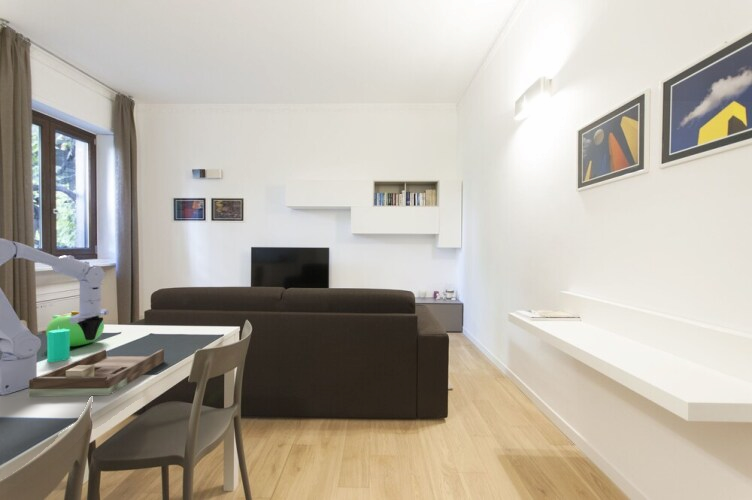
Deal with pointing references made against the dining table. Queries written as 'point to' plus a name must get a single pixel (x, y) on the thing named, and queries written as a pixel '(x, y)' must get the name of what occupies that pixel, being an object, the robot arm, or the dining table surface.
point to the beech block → (81, 371)
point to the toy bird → (72, 328)
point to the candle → (58, 345)
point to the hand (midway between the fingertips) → (90, 339)
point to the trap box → (95, 375)
